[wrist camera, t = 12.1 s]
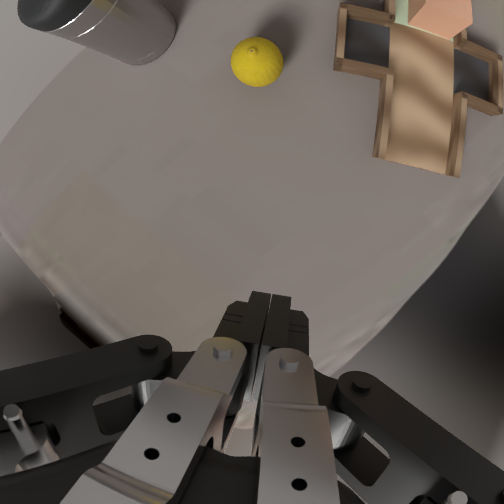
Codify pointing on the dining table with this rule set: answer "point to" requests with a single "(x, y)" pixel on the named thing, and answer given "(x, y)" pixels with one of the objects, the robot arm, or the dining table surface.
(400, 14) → the pad
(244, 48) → the lemon
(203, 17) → the dining table surface
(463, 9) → the block
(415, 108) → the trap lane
